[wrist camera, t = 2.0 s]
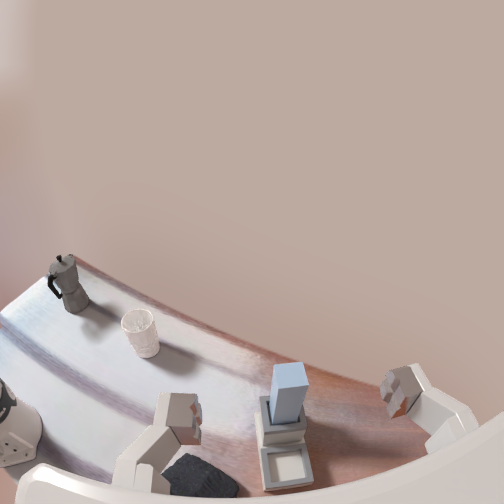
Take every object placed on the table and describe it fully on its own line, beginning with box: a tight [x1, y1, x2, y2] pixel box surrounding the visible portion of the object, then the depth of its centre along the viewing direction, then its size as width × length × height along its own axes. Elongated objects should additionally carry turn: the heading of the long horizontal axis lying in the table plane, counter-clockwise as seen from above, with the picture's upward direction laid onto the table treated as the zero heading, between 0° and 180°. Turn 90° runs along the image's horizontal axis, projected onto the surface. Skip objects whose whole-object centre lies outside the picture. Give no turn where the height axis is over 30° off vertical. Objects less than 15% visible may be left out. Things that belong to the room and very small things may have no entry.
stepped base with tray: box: [254, 396, 314, 491], centre depth 39 cm, size 16×8×10 cm, turn 5°
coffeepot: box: [48, 254, 89, 313], centre depth 70 cm, size 15×9×18 cm, turn 1°
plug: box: [269, 362, 309, 426], centre depth 38 cm, size 5×4×13 cm
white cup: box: [121, 309, 160, 358], centre depth 61 cm, size 8×8×10 cm
